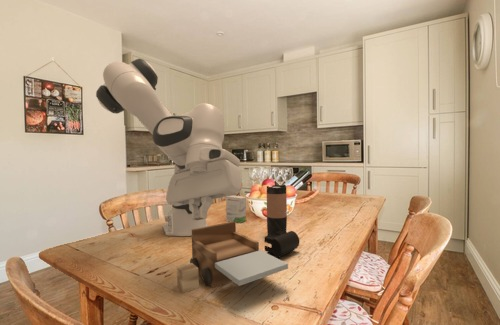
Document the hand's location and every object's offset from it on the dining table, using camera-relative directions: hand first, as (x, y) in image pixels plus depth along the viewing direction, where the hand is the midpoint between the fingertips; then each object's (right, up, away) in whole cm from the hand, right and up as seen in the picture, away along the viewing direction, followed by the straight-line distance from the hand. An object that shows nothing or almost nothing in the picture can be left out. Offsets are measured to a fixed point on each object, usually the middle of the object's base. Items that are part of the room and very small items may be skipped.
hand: (198, 219), depth 60 cm
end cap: (+22, -17, +28) cm, 40 cm away
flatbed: (+4, -18, +16) cm, 25 cm away
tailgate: (+9, -12, +10) cm, 17 cm away
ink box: (+5, -16, +70) cm, 72 cm away
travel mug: (+22, -17, +44) cm, 52 cm away
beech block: (-4, -18, +7) cm, 20 cm away
